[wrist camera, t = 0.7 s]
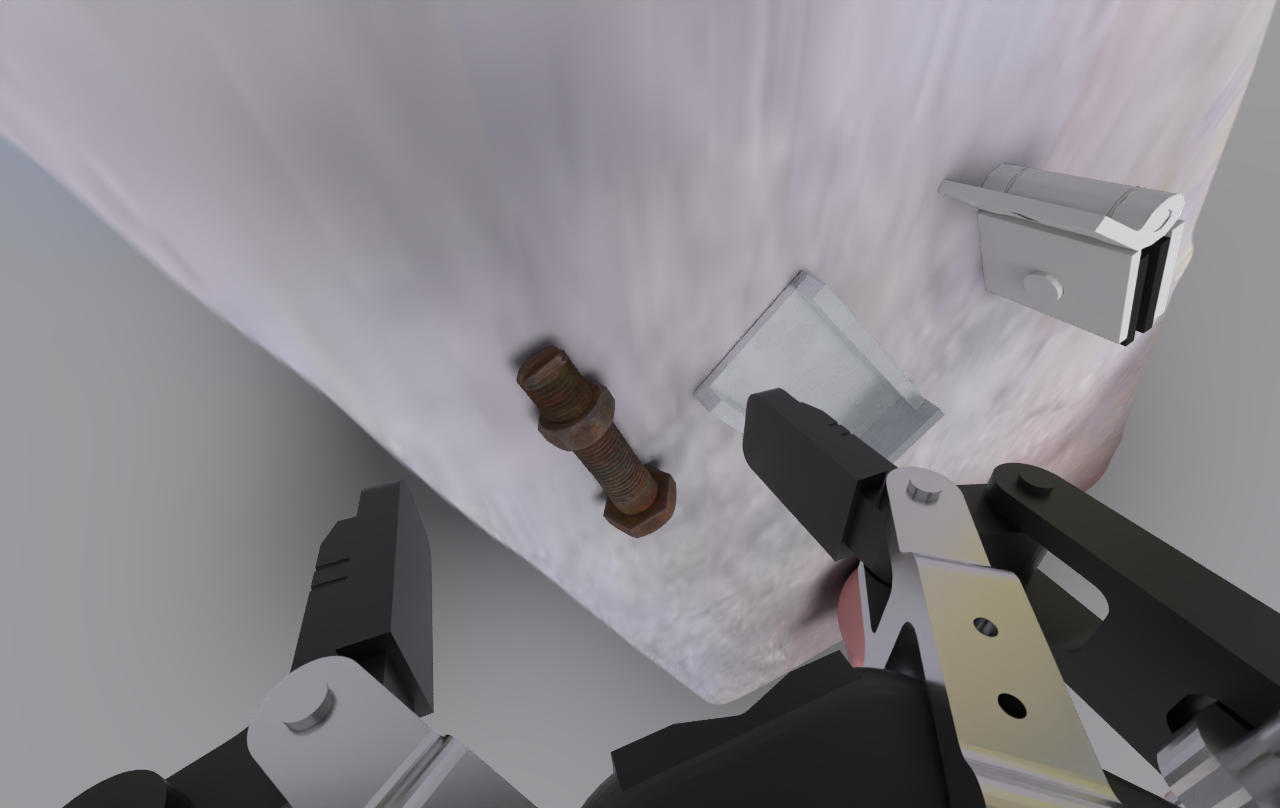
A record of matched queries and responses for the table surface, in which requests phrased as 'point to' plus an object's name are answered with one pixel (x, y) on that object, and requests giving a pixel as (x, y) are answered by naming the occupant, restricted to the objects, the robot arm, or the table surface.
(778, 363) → the tray
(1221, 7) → the table surface
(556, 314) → the table surface
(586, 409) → the bolt
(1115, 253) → the hinge
